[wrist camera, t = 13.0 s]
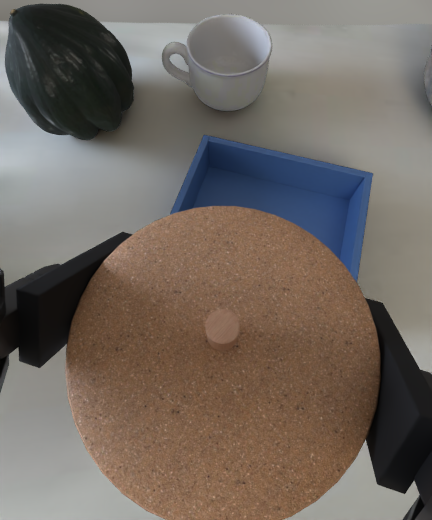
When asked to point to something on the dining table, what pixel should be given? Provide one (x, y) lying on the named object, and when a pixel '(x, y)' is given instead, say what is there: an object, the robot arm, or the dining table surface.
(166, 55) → the teacup
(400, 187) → the dining table surface
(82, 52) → the squash
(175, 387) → the trinket box
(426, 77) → the vessel
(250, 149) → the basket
